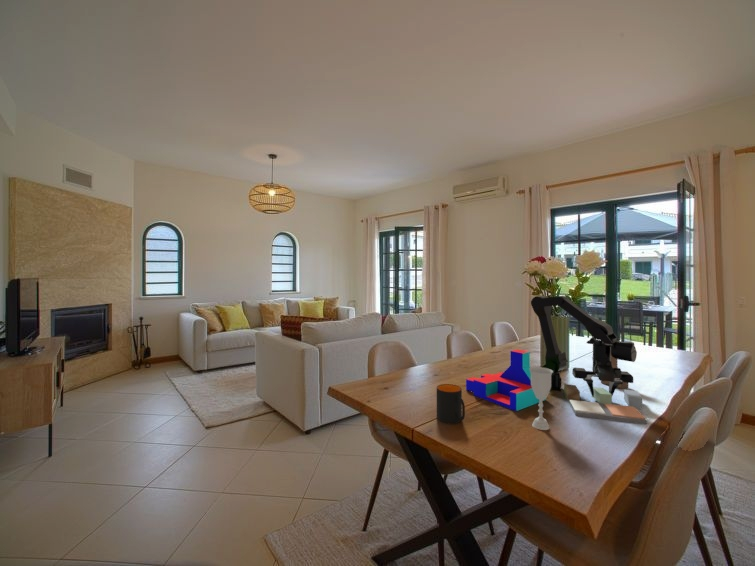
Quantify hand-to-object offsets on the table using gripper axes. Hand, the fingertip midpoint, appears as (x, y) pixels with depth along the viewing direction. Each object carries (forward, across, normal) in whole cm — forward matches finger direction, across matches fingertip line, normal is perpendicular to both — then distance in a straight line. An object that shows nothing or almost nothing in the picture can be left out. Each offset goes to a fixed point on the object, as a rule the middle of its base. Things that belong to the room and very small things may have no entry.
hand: (601, 397), depth 128 cm
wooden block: (+1, +10, +22) cm, 24 cm away
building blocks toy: (+2, -36, -7) cm, 36 cm away
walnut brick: (+2, -10, 0) cm, 10 cm away
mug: (+2, -51, -37) cm, 63 cm away
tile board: (+1, -2, -13) cm, 13 cm away
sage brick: (+1, 0, 0) cm, 1 cm away
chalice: (+1, -24, -32) cm, 40 cm away
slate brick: (+1, +10, 0) cm, 10 cm away
